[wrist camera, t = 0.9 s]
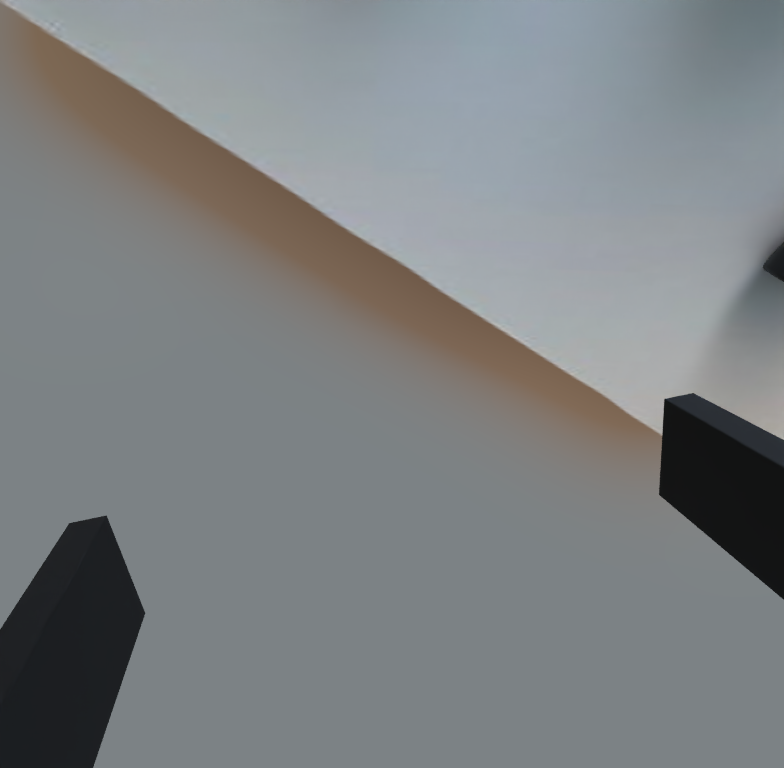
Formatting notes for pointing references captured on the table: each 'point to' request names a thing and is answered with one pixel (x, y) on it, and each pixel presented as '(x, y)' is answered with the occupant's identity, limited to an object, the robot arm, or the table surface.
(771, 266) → the end cap
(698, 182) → the table surface
